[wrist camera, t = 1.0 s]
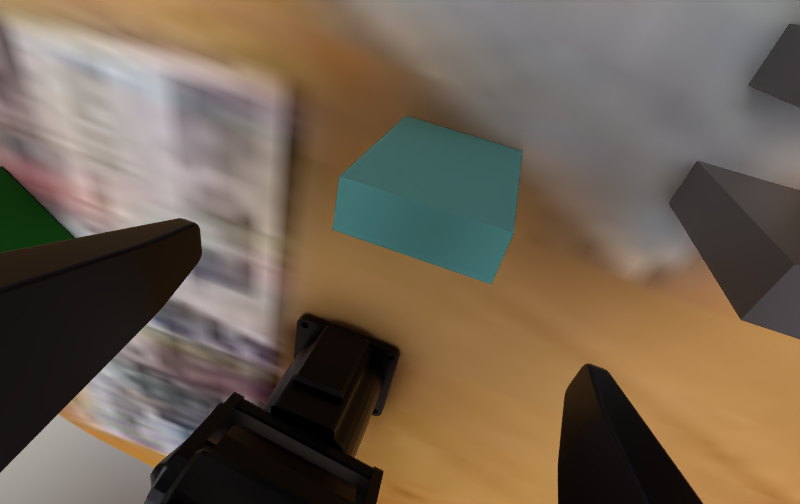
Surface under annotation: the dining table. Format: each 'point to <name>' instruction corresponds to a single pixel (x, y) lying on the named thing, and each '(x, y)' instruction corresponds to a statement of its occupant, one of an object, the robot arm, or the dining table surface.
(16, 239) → the milk carton
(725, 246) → the domino
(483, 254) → the domino
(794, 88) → the domino
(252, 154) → the dining table surface
